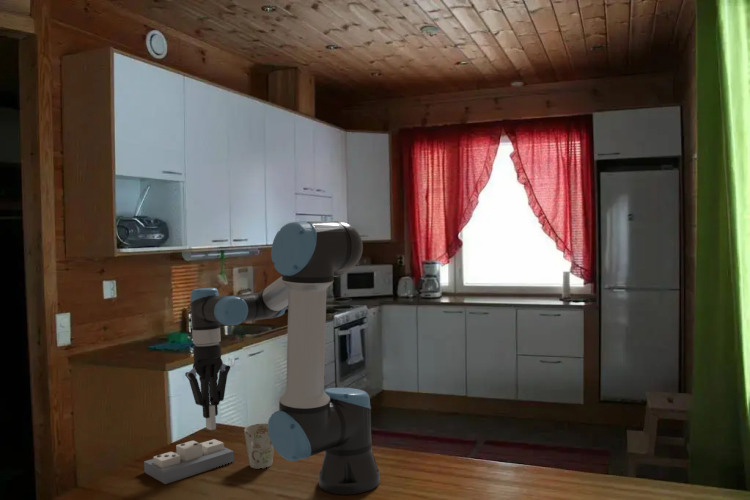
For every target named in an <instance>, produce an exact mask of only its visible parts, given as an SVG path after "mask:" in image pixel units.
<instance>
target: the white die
mask: <svg viewBox="0 0 750 500" xmlns="http://www.w3.org/2000/svg"><path fill="white" fill-rule="evenodd" d="M200 443H201V442H198V441H196V440H189V441H186V442H184V443H180V444H176V446H175V447H176V450H175V452H177V455H180V459H181V460H183V461H185V462H186V461H189V460H192V459H195V458H199V457H202V456H203V449H202V444H200Z"/></svg>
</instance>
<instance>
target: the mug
mask: <svg viewBox="0 0 750 500" xmlns="http://www.w3.org/2000/svg"><path fill="white" fill-rule="evenodd" d="M243 433H244V438H245V445H246V450H247V456H248V462H249V467H250V468H251V469H256V470H257V469H258V470H260V468H262V469H266V467H267V468H269V467H271V466H272V465H273V460H274V452H275V451H274V449H275V448H274V446H273V445H272V442H271V440H270V437H269V432H268V423H255V424H251V425H248V426H246V427H244V430H243Z"/></svg>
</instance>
